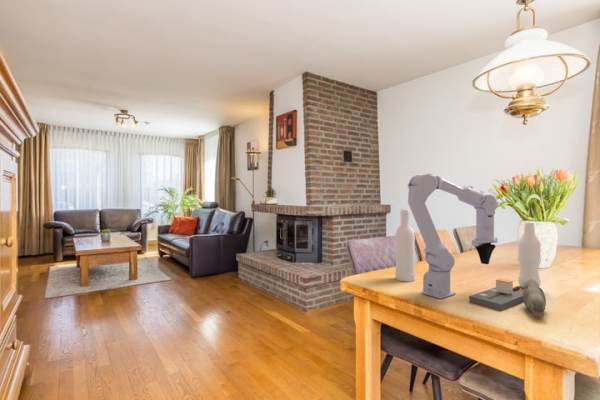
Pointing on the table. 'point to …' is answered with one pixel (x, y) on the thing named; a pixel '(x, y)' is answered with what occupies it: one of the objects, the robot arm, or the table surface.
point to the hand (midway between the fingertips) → (484, 263)
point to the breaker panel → (496, 299)
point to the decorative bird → (534, 298)
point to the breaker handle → (504, 286)
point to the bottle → (405, 249)
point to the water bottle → (529, 256)
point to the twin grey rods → (516, 288)
